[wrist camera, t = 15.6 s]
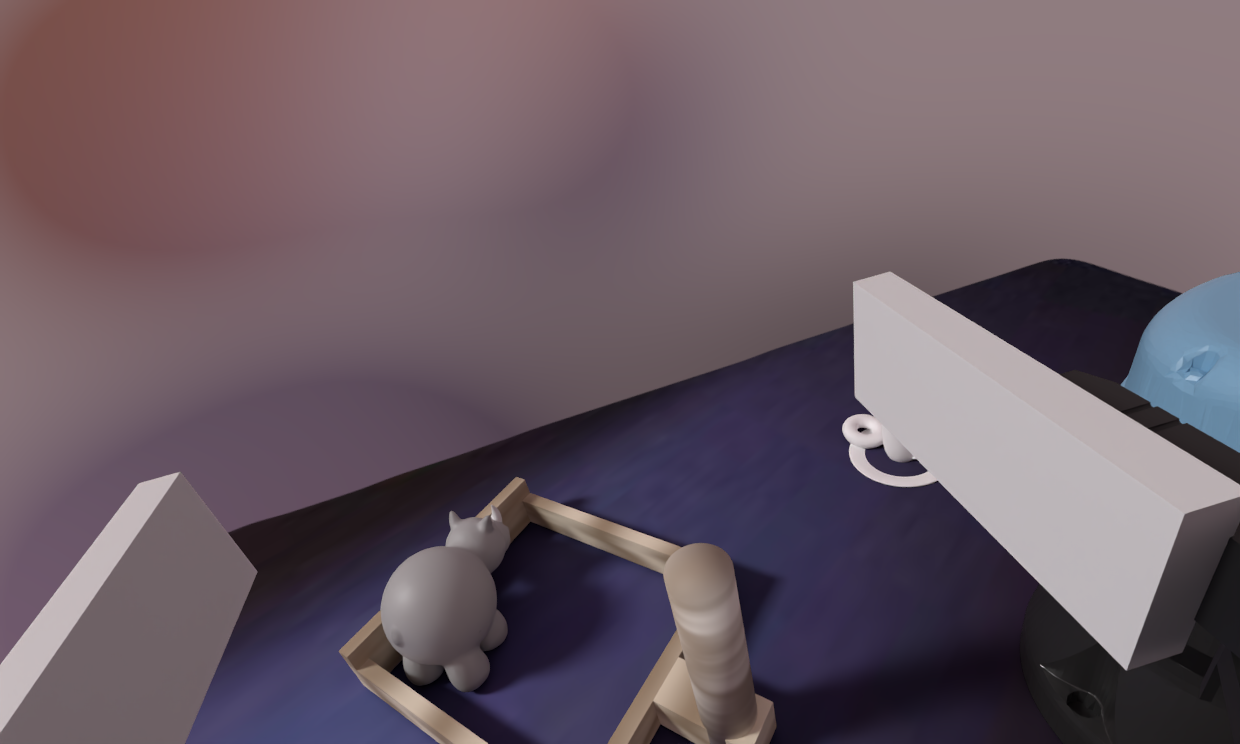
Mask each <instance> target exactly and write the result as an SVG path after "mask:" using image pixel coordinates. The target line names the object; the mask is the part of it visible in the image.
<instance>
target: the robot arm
mask: <svg viewBox="0 0 1240 744" xmlns="http://www.w3.org/2000/svg"><path fill="white" fill-rule="evenodd" d="M853 292H854V293H853V294H854V295H853V296H854V368H855V397H856V398H857V399H858V400H859V401H860V402H861V403H862V404H863V405H864V406H865V408H866V409H867V410H868V411H869V412H870V413H871V414H872V415H873V416H874V417H875V418H876V419H877V420H878V421H879V422H880V423H881V424H882V425H883V426H884V427H885V428H886V429H887V430H888V431H889V432H890V433H891V434H892V435H893V436H894V437H895V438H896V439H897V440H898V441H899V442H900V443H901V444H902V445H903V446H904V447H905V448H906V449H907V450H908V451H909V452H910V453H911V454H912V455H913V456H914V457H915V458H916V459H917V460H918V461H919V462H920V463H921V464H922V465H923V466H924V467H925V468H926V469H927V470H928V471H929V472H930V473H931V474H932V475H933V476H934V477H935V478H936V479H937V480H938V481H939V482H940V483H941V484H942V485H943V486H944V487H945V488H946V489H947V490H948V491H949V492H950V493H951V494H952V495H953V496H954V497H955V498H956V499H957V500H958V501H959V502H960V503H961V504H962V505H963V506H964V507H965V508H966V509H967V510H968V511H969V512H970V513H971V514H972V515H973V516H974V517H975V519H976V520H977V521H978V522H979V523H980V524H981V525H982V526H983V527H984V528H985V529H986V530H987V531H988V532H989V533H990V534H991V535H992V536H993V537H994V538H995V539H996V540H997V541H998V542H999V543H1000V544H1001V545H1002V546H1003V547H1004V548H1005V549H1006V550H1007V551H1008V552H1009V553H1010V554H1011V555H1012V556H1013V557H1014V558H1015V559H1016V560H1017V561H1018V562H1019V563H1020V564H1021V565H1022V566H1023V567H1024V568H1025V569H1026V570H1027V571H1028V572H1029V573H1030V574H1031V575H1032V576H1033V577H1034V578H1035V579H1036V580H1037V581H1038V582H1039V583H1040V584H1039V586H1038V587H1037V589H1036V590H1035V592H1034V593H1033V595H1032V597H1031V599H1030V601H1029V604H1028V606H1027V609H1026V614H1025V618H1024V623H1023V628H1022V632H1021V638H1020V658H1021V665H1022V670H1023V673H1024V677H1025V680H1026V683H1027V686H1028V688H1029V691H1030V693H1031V695H1032V697H1033V699H1034V701H1035V703H1036V705H1037V707H1038V709H1039V710H1040V712H1041V714H1042V715H1043V717H1044V718H1045V720H1046V721H1047V723H1048V724H1049V726H1050V727H1051V728H1052V730H1053V731H1054V732H1055V734H1056V735H1057V736H1058V737H1059V739H1060V740H1061V741H1062V742H1063V744H1240V272H1237V273H1233V274H1229V275H1225V276H1221V277H1218V278H1216V279H1213V280H1211V281H1208V282H1206V283H1203V284H1201V285H1199V286H1196V287H1194V288H1192V289H1190V290H1189V291H1187V292H1185V293H1183V294H1182V295H1180V296H1178V297H1177V298H1175V299H1174V300H1173V301H1171V302H1170V303H1168V304H1167V305H1166V306H1165V307H1164V308H1162V309H1161V310H1160V311H1159V312H1158V313H1157V314H1156V316H1155V317H1154V318H1153V319H1152V320H1151V322H1150V323H1149V324H1148V326H1147V328H1146V329H1145V331H1144V333H1143V335H1142V338H1141V341H1140V343H1139V346H1138V349H1137V352H1136V355H1135V358H1134V361H1133V363H1132V366H1131V369H1130V372H1129V375H1128V376H1127V378H1126V379H1125V380H1124V381H1123V383H1122V384H1121V385H1119V384H1118V383H1115V382H1112V381H1109V380H1106V379H1102V378H1099V377H1096V376H1093V375H1090V374H1086V373H1083V372H1080V371H1077V370H1073V371H1070V372H1066V373H1063V374H1057V373H1056V372H1054V371H1052V370H1051V369H1049V368H1048V367H1046V366H1044V365H1043V364H1041V363H1039V362H1038V361H1036V360H1034V359H1033V358H1031V357H1029V356H1028V355H1026V354H1025V353H1023V352H1021V351H1020V350H1018V349H1016V348H1015V347H1013V346H1011V345H1010V344H1008V343H1006V342H1005V341H1003V340H1002V339H1000V338H998V337H997V336H995V335H993V334H992V333H990V332H988V331H987V330H985V329H984V328H982V327H980V326H979V325H977V324H975V323H974V322H972V321H970V320H969V319H967V318H965V317H964V316H962V315H961V314H959V313H957V312H956V311H954V310H952V309H951V308H949V307H947V306H946V305H944V304H943V303H941V302H939V301H938V300H936V299H934V298H933V297H931V296H929V295H927V294H926V293H924V292H923V291H921V290H920V289H918V288H916V287H915V286H913V285H911V284H910V283H908V282H906V281H905V280H903V279H901V278H900V277H898V276H896V275H895V274H893V273H892V272H887V273H884V274H880V275H876V276H873V277H869V278H866V279H862V280H859V281H855V282H853ZM256 574H257V570H256V569H255V568H254V567H253V565H252V564H251V563H250V561H249V560H248V559H247V557H246V556H245V555H244V554H243V552H242V551H241V550H240V548H239V547H238V546H237V544H236V543H235V542H234V541H233V539H232V538H231V537H230V535H229V534H228V533H227V532H226V530H225V529H224V528H223V526H222V525H221V524H220V522H219V521H218V520H217V518H216V517H215V516H214V515H213V513H212V512H211V511H210V509H209V508H208V507H207V506H206V504H205V503H204V502H203V500H202V499H201V498H200V497H199V495H198V494H197V493H196V491H195V490H194V489H193V487H192V486H191V485H190V483H189V482H188V481H187V480H186V478H185V477H184V476H183V475H182V473H181V472H178V473H174V474H171V475H167V476H164V477H160V478H157V479H153V480H150V481H146V482H142V483H139V484H138V485H137V486H136V488H135V489H134V490H133V492H132V493H131V494H130V496H129V497H128V498H127V499H126V501H125V502H124V504H123V505H122V506H121V507H120V509H119V510H118V511H117V513H116V514H115V515H114V517H113V518H112V519H111V521H110V522H109V523H108V524H107V526H106V527H105V528H104V530H103V531H102V532H101V534H100V535H99V536H98V537H97V539H96V540H95V541H94V543H93V544H92V545H91V547H90V548H89V549H88V551H87V552H86V553H85V555H84V556H83V557H82V558H81V560H80V561H79V562H78V564H77V565H76V566H75V568H74V569H73V570H72V572H71V573H70V574H69V576H68V577H67V578H66V579H65V581H64V582H63V583H62V585H61V586H60V587H59V589H58V590H57V591H56V592H55V594H54V595H53V596H52V598H51V599H50V600H49V602H48V603H47V604H46V606H45V607H44V608H43V609H42V611H41V612H40V614H39V615H38V616H37V617H36V619H35V620H34V621H33V623H32V624H31V625H30V627H29V628H28V629H27V630H26V632H25V633H24V634H23V636H22V637H21V638H20V640H19V641H18V642H17V644H16V645H15V646H14V647H13V649H12V650H11V651H10V653H9V654H8V655H7V657H6V658H5V659H4V661H3V662H2V663H1V665H0V744H185V742H186V740H187V737H188V735H189V733H190V730H191V728H192V725H193V723H194V721H195V718H196V716H197V714H198V711H199V709H200V707H201V704H202V702H203V699H204V697H205V695H206V692H207V690H208V688H209V685H210V683H211V680H212V678H213V676H214V673H215V671H216V669H217V666H218V664H219V662H220V659H221V657H222V654H223V652H224V650H225V647H226V645H227V643H228V640H229V638H230V635H231V633H232V631H233V628H234V626H235V624H236V621H237V619H238V617H239V614H240V612H241V609H242V607H243V605H244V602H245V600H246V598H247V595H248V593H249V590H250V588H251V586H252V583H253V581H254V579H255V576H256Z"/></svg>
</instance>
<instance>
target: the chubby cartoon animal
mask: <svg viewBox="0 0 1240 744" xmlns="http://www.w3.org/2000/svg"><path fill="white" fill-rule="evenodd" d="M491 508H492V514H491V517H490V516H489V515H487V516H485V517H484V518H483V519H482V518H478V517H471V518H467V519H460V518H459V517H458V516H457V515H456V513H455V512H453V511H451V512H450V515H449V522H450V527H451V531H450V533H449V535H448V537H447V540H446V547H445V546H439V547H432V548H428V549H425V550H422V551H420V552H418V553H416V554H414V555H413V556H411V557H409V558H408V559H407V560H406V561H404V562H403V563H402V564H401V565H400V566H399V567H398V568H397V569H396V571H395V572H394V573H393V575H392V576H391V578H390V580H389V581H388V583H387V585H386V588H385V590H384V593H383V597H382V602H381V621H382V626H383V629H384V632H385V634H386V637H387V639H388V640H389V642H390V643H391V645H392V646H393V647H394V648H395V649H396V651H397V652H399V653H400V654H401V655H402V656H403V667H404V671H405V674H406V676H407V678H408V679H409V680H410V682H411V683H413V684H414V685H419V686H421V685H426V684H429V683H431V682H433V681H435V680H436V679H438V678H439V677H440V676H441V674H442V673H443V671H444V668H445V670H446V672H447V675H448V677H449V680H450V681H451V683H452V684H453V686H454V687H455V688H457V689H458V690H460V691H462V692H471V691H473V690H475V689H477V688H478V687H479V686H481V685H482V684H483V682H484V681H485V680H486V679H487V677H488V675H489V672H490V664H489V660H488V658H487V656H486V655H485V653H484V652H483V651H489V650H492V649H494V648H496V647H498V646H499V645H500V644H501V643H502V642H503V641H504V640H505V638H506V636H507V632H508V628H507V623H506V620H505V618H504V617H503V615H502V614H501V613H500V612H499V611H498V610H497V609H496V607H497V593H496V587H495V583H494V580H493V578H492V576H491V574H490V573H492V572H493V571H494V570H495V569H496V568H497V567H498V566H499V565H500V563H501V562H502V560H503V557H504V554H505V552H506V550H507V549H508V547H509V544H510V534H509V528H508V527H507V526H505V525H504V524H503V523H502V517H501V514H500V512H499V510H498V509H497V508H496V507H495V506H493V505H491Z"/></svg>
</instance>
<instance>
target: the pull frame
mask: <svg viewBox="0 0 1240 744" xmlns="http://www.w3.org/2000/svg"><path fill="white" fill-rule="evenodd" d="M491 505H493V506H495V507H496V508H497V509H498V510H499V512H500V514H501V517H502V523H503V524H504V525H505V526H507V527H508V528H509V534H510V543H511V542H512V541H513V540H514V539H515V538H516V537H517V536H518V534H519V533H520V532H521V531H522V530H523V529H524V528H525V527H526V526H527V525H528V524H529V523H530V522H533V523H535V524H538V525H541V526H543V527H546V528H548V529H551V530H553V531H556V532H558V533H561V534H563V535H566V536H568V537H571V538H573V539H576V540H579V541H581V542H584V543H586V544H589V545H591V546H594V547H596V548H599V549H601V550H604V551H606V552H609V553H612V554H614V555H617V556H619V557H622V558H624V559H627V560H629V561H632V562H634V563H637V564H639V565H642V566H644V567H647V568H650V569H652V570H655V571H657V572H660V573H662V574H663V575H664V581H665V585H666V589H667V592H668V596H669V600H670V604H671V608H672V612H673V616H674V619H675V623H676V627H677V630H676V632H675V634H674V635H673V637H672V639H671V640H670V642H669V643H668V645H667V647H666V648H665V650H664V652H663V653H662V655H661V657H660V658H659V660H658V662H657V663H656V665H655V666H654V668H653V670H652V671H651V673H650V675H649V676H648V678H647V680H646V681H645V683H644V685H643V686H642V688H641V690H640V691H639V693H638V694H637V696H636V698H635V699H634V701H633V703H632V704H631V706H630V708H629V709H628V711H627V713H626V714H625V716H624V717H623V719H622V721H621V722H620V724H619V726H618V727H617V729H616V731H615V732H614V734H613V736H612V737H611V739H610V741H609V742H608V744H650V742H651V740H652V738H653V737H654V735H655V733H656V731H657V730H658V728H659V726H660V724H661V725H663V726H665V727H666V728H668V729H670V730H672V731H674V732H675V733H677V734H679V735H681V736H683V737H684V738H686V739H688V740H690V741H691V742H693V743H695V744H769V743H770V741H771V739H772V736H773V734H774V731H775V729H776V727H777V726H776V719H775V712H774V705H773V702H772V701H770V700H768V699H766V698H763V697H761V696H759V695H757V694H755V691H754V685H753V679H752V673H751V667H750V661H749V656H748V650H747V644H746V638H745V632H744V626H743V620H742V614H741V608H740V602H739V596H738V590H737V584H736V579H735V573H734V567H733V563H732V560H731V558H730V557H729V555H728V554H727V553H726V552H725V551H724V550H722V549H721V548H719V547H717V546H715V545H711V544H706V543H696V544H690V545H687V546H684V547H679V546H677V545H674V544H671V543H668V542H665V541H663V540H660V539H657V538H654V537H651V536H649V535H646V534H643V533H640V532H638V531H635V530H632V529H629V528H626V527H624V526H621V525H618V524H615V523H612V522H610V521H607V520H604V519H601V518H598V517H596V516H593V515H590V514H587V513H584V512H582V511H579V510H576V509H573V508H571V507H568V506H565V505H562V504H559V503H557V502H554V501H551V500H548V499H545V498H543V497H540V496H537V495H534V494H531V493H530V492H529V490H528V487H527V485H526V482H525V480H523V479H521V478H518V477H516V478H515V479H514V480H513V481H512V482H511V483H510V484H509V485H508V486H507V487H506V488H505V489H504V490H503V491H502V492H500V493H499V494H498V495H497V496H496V497H495V498H494V499H493V500H492V501H491V502H490V503H489V504H488V505H487V506H486V507H485V508H484V509H483V510H482V511H481V512H480V513H479V514H478V515H477V516H476V517H478V518H482V519H483V518H484V517H485V516H487V515H489V516H490V517H491V514H492V508H491ZM445 547H446V546H445ZM339 653H340V654H341V655H342V657H343V658H344V659H345V661H346V662H347V663H348V665H349V666H350V667H351V669H352V670H353V671H354V673H355V674H356V675H357V677H358V678H359V679H360V681H361V682H362V684H363V685H364V686H365V687H367V688H368V689H369V690H371V691H372V692H373V693H374V694H376V695H377V696H378V697H380V698H381V699H382V700H384V701H385V702H386V703H388V704H389V705H390V706H391V707H393V708H394V709H395V710H397V711H398V712H399V713H401V714H402V715H403V716H404V717H406V718H407V719H408V720H410V721H411V722H412V723H414V724H415V725H416V726H418V727H419V728H420V729H421V730H423V731H424V732H425V733H427V734H428V735H429V736H431V737H432V738H433V739H435V740H436V741H437V742H438V743H440V744H488V743H487V742H485V741H484V740H482V739H481V738H480V737H478V736H477V735H475V734H474V733H473V732H471V731H470V730H468V729H467V728H466V727H464V726H463V725H461V724H460V723H459V722H457V721H456V720H454V719H453V718H452V717H450V716H449V715H447V714H446V713H445V712H443V711H442V710H440V709H439V708H438V707H436V706H435V705H433V704H432V703H431V702H429V701H428V700H426V699H425V698H424V697H422V696H421V695H419V694H418V693H417V692H415V691H414V690H412V689H411V688H410V687H408V686H407V685H406V684H404V683H403V682H401V681H400V680H399V679H397V678H396V677H394V676H393V675H392V674H390V672H391V671H392V670H393V669H394V668H395V667H396V666H397V665H398V664H399V662H400V661H401V660H402V659H403V656H402V655H401V654H400V653H399V652H397V651H396V649H395V648H394V647H393V646H392V645H391V643H390V642H389V640H388V639H387V637H386V634H385V632H384V629H383V626H382V621H381V610H380V611H379V612H378V613H377V614H376V615H375V616H374V617H373V618H372V619H371V620H370V621H369V622H368V623H367V624H366V625H365V626H364V627H363V628H362V629H361V630H360V631H359V632H358V633H357V634H356V635H355V636H354V637H353V638H352V639H351V640H349V641H348V642H347V643H346V644H345V645H344V646H343V647H342V648H341V649H340V650H339Z"/></svg>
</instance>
